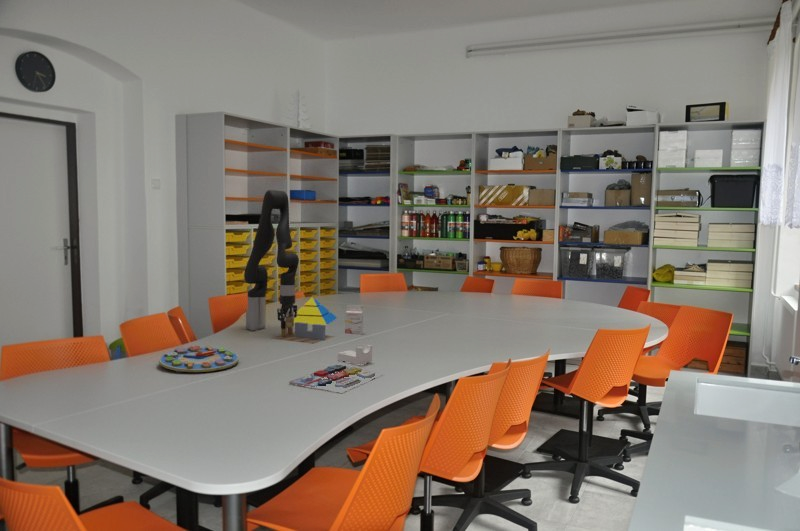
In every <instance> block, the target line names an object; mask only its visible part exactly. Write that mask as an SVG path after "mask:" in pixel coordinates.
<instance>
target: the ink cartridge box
mask: <svg viewBox="0 0 800 531" xmlns="http://www.w3.org/2000/svg"><path fill="white" fill-rule="evenodd" d="M346 306H347V308H346V311H345V314H344V316H345V317H344V333H345V334H351V335H359V336H361V335H363V332H364V331H363V328H364V326H363V324H364V323H363V322H364V321H363V320H364V311H363V308H364V306H363V305H359V304H358V305H357V304H347V305H346Z"/></svg>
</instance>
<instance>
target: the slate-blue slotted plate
mask: <svg viewBox="0 0 800 531" xmlns="http://www.w3.org/2000/svg"><path fill="white" fill-rule="evenodd" d="M308 325H309V324H308V323H301V322H296V323H294V332H295V337H300V338H309V339H317V340H323V341H325V335H326V325H320V324H311V325H312V326H311V328H312V330H310V329H309V328H308V327H309V326H308Z"/></svg>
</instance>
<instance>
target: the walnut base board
mask: <svg viewBox="0 0 800 531" xmlns="http://www.w3.org/2000/svg"><path fill="white" fill-rule="evenodd" d="M334 337H336V336H335V335H327V334H325V340H328V339H331V338H334ZM270 339H273V340H280V341H288V342H295V343H296V342H297V343H305V344H311V345H312V344H316V343H317V344H318V343H319V342H322V341H325V340H317V339H309V338H300V337H295V331H293V334H292V335H290V334H287V336H286V337H285V336H281V334H280V335H277V336H275V337H274V336H273V337H271V338H270Z"/></svg>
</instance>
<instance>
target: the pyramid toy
mask: <svg viewBox="0 0 800 531" xmlns="http://www.w3.org/2000/svg"><path fill="white" fill-rule="evenodd" d="M336 318H337V319H338V316H336V315H335V314H334V313H332V312H330V310H329V309H328V308H327V307H325V306H324V305H323V304H321V302H319V301H318V300H317V299H315V297H313V296H311V297H310V298H309V299H308V300H307V301H306V302H305V303H304V304H303V305H302V306H301V307H300V308H299V309H297V317H295V319H294V324H295V323H296V322H301V323H308V325H313V324H321V325H325V326H328V325H329V324H331V323H333V322H334V321H336V320H337V319H336ZM335 319H336V320H335ZM333 320H334V321H333ZM330 322H331V323H330ZM327 324H328V325H327Z"/></svg>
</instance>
